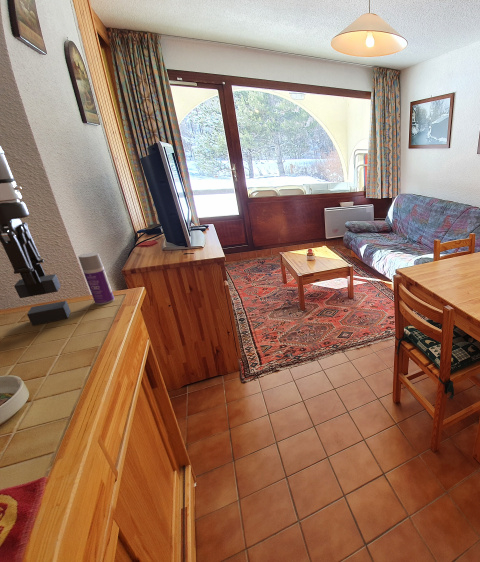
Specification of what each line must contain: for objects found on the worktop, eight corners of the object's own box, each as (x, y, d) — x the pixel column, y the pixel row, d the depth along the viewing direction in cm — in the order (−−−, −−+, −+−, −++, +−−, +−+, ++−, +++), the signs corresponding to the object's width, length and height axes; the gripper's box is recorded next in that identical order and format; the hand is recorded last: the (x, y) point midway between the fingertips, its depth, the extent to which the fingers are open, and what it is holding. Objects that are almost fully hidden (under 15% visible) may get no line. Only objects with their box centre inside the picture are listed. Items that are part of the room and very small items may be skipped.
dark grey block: (19, 298, 78) (13, 285, 77) (25, 291, 82) (19, 279, 81) (57, 291, 82) (52, 279, 81) (60, 285, 86) (55, 273, 84)
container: (95, 306, 92) (77, 258, 86) (94, 300, 95) (77, 254, 89) (115, 301, 95) (99, 255, 89) (114, 296, 98) (98, 251, 92)
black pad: (32, 325, 81) (26, 314, 80) (36, 318, 85) (31, 306, 84) (68, 318, 85) (63, 307, 84) (70, 311, 89) (66, 300, 88)
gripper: (12, 205, 68) (53, 299, 77) (32, 196, 82) (65, 277, 91) (-40, 208, 64) (10, 307, 73) (-11, 198, 78) (29, 282, 87)
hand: (40, 290), depth 82 cm, fingers closed on dark grey block, 5 cm apart
